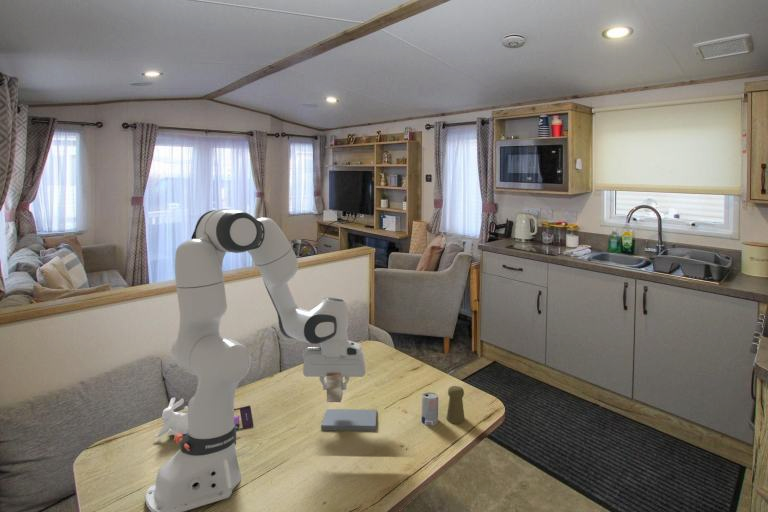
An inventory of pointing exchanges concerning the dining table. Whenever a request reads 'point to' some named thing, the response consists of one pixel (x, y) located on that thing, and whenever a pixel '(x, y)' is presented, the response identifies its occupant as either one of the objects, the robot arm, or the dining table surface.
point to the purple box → (244, 418)
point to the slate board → (349, 419)
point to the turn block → (334, 387)
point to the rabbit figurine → (174, 419)
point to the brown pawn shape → (455, 405)
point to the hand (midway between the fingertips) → (334, 389)
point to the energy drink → (430, 409)
